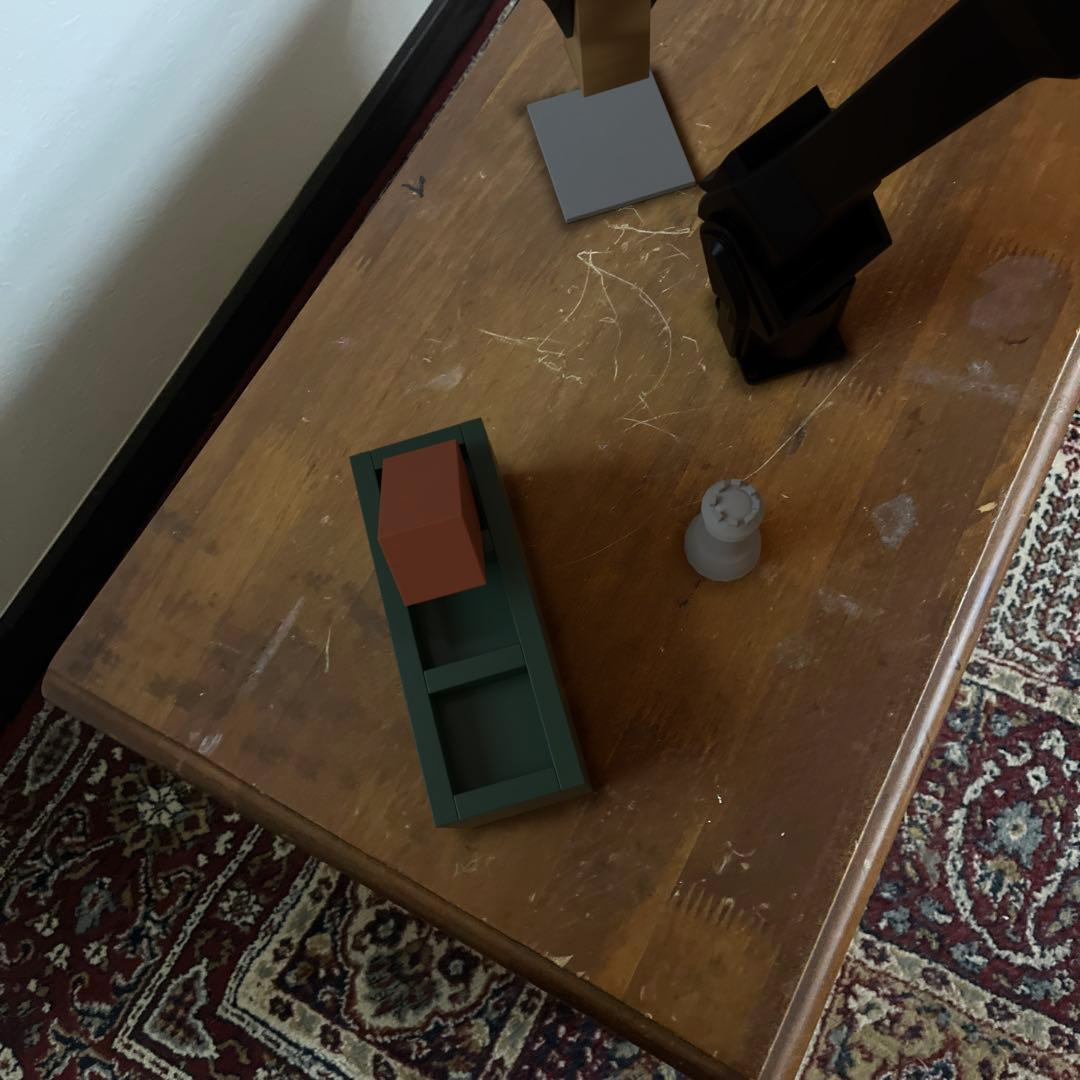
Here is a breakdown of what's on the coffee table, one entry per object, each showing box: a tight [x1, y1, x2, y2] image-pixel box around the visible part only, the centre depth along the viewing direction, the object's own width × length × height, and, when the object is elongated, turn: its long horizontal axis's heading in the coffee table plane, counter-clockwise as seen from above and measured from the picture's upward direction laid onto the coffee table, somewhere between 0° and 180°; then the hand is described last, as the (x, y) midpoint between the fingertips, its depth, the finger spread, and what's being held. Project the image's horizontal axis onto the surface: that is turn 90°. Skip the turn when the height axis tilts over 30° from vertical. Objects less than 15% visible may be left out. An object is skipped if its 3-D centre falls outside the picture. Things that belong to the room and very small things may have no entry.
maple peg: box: [562, 0, 652, 98], centre depth 52 cm, size 4×4×8 cm
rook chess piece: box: [683, 478, 766, 583], centre depth 53 cm, size 4×4×8 cm
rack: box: [348, 417, 594, 830], centre depth 52 cm, size 7×20×8 cm, turn 16°
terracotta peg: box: [378, 439, 486, 606], centre depth 47 cm, size 4×4×8 cm
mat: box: [526, 68, 696, 224], centre depth 65 cm, size 9×10×1 cm
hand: (605, 20), depth 53 cm, fingers closed on maple peg, 4 cm apart
